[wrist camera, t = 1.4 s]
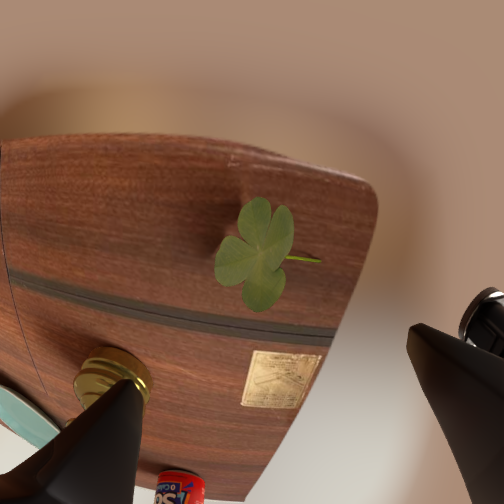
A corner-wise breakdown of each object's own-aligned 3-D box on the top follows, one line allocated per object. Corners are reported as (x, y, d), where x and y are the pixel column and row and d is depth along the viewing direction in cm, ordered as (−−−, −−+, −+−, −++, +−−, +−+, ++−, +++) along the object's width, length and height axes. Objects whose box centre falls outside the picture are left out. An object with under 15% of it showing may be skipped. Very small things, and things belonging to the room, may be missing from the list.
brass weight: (132, 402, 26) (109, 473, 17) (79, 363, 24) (41, 431, 15) (168, 378, 24) (147, 464, 15) (107, 331, 22) (61, 412, 13)
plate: (89, 429, 29) (84, 443, 27) (74, 460, 35) (71, 470, 33) (-20, 346, 24) (-29, 356, 22) (-9, 401, 30) (-14, 409, 28)
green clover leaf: (273, 233, 25) (208, 221, 20) (348, 197, 19) (284, 168, 15) (283, 315, 23) (215, 319, 18) (369, 298, 17) (305, 302, 13)
